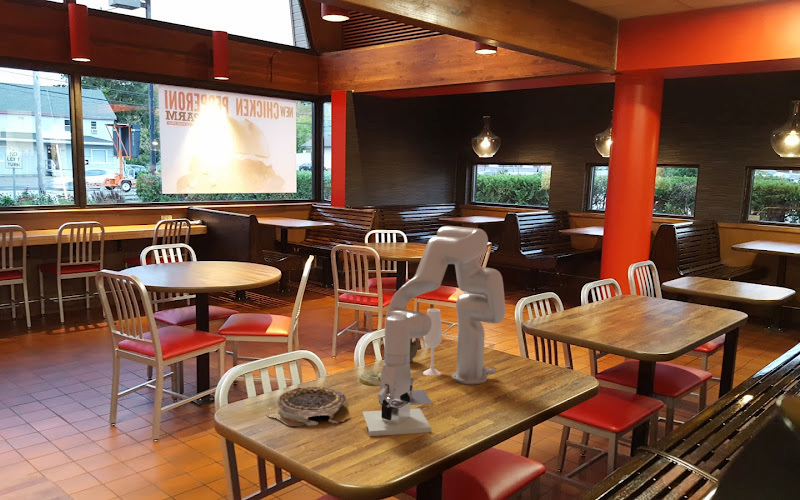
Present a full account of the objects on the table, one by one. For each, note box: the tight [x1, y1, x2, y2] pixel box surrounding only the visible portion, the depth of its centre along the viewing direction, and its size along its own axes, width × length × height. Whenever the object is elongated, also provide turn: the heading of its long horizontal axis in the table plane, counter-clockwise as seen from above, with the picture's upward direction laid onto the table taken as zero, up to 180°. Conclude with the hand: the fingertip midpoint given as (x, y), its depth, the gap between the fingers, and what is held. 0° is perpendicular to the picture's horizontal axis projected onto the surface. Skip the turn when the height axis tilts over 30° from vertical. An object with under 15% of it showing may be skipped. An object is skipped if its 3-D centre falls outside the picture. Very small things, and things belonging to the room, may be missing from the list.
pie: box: [266, 386, 351, 427], centre depth 192 cm, size 28×27×5 cm
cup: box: [410, 339, 419, 363], centre depth 239 cm, size 8×7×8 cm
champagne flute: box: [422, 308, 443, 376], centre depth 226 cm, size 7×7×24 cm
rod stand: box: [386, 389, 433, 406], centre depth 199 cm, size 14×12×5 cm
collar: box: [382, 398, 411, 425], centre depth 182 cm, size 6×6×5 cm
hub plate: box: [362, 402, 432, 437], centre depth 182 cm, size 18×14×6 cm
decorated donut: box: [358, 370, 382, 387], centre depth 215 cm, size 10×11×4 cm
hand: (395, 413), depth 182 cm, fingers open, 9 cm apart
